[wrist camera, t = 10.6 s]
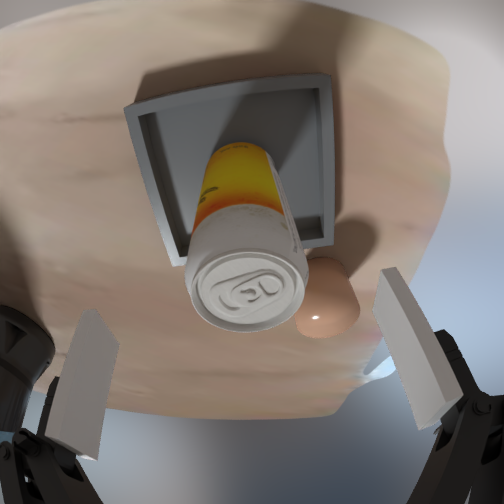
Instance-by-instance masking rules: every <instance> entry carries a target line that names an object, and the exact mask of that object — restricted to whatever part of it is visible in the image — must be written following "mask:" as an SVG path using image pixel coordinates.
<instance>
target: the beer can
mask: <svg viewBox="0 0 504 504" xmlns="http://www.w3.org/2000/svg"><path fill="white" fill-rule="evenodd" d="M308 277H309V269H308V263H307V260H306V257H305V253H304V250H303V247H302V244H301V241H300V238H299V235H298V231H297V228H296V225H295V222H294V219H293V216H292V213H291V210H290V207H289V204H288V201H287V198H286V195H285V192H284V189H283V186H282V184H281V181H280V178H279V175H278V172H277V169H276V166H275V164H274V161H273V159H272V158H271V156H270V155H269V154H268V153H267V152H266V151H265V150H264V149H262V148H261V147H259V146H257V145H254V144H251V143H246V142H236V143H231V144H228V145H226V146H223V147H222V148H220V149H219V150H217V151H216V152H215V153H214V154H213V155H212V156H211V158H210V159H209V161H208V163H207V166H206V170H205V174H204V178H203V183H202V187H201V192H200V197H199V201H198V206H197V211H196V215H195V220H194V225H193V230H192V235H191V241H190V246H189V251H188V256H187V262H186V267H185V284H186V287H187V290H188V292H189V294H190V296H191V300H192V303H193V306H194V308H195V310H196V311H197V312H198V314H199V315H200V316H201V317H202V318H203V319H205V320H206V321H207V322H209V323H210V324H212V325H214V326H216V327H219V328H221V329H225V330H228V331H234V332H257V331H262V330H266V329H270V328H273V327H275V326H277V325H279V324H281V323H283V322H285V321H286V320H288V319H289V318H290V317H291V316H292V315H294V314H295V312H296V311H297V310H298V309H299V307H300V306H301V304H302V301H303V299H304V294H305V288H306V285H307V282H308Z"/></svg>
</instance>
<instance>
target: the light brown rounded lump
mask: <svg viewBox="0 0 504 504" xmlns="http://www.w3.org/2000/svg"><path fill="white" fill-rule="evenodd" d="M307 263H308V269H309V277H308V282H307V285H306V288H305V294H304V299H303V301H302V304H301V306H300V307H299V309H298V310H297V311H296V312H295V314H294V316H295V321H296V326H297V329H298V330H299V331H300V332H301V333H302V334H303V335H305V336H308V337H311V338H328V337H332V336H335V335H338V334H340V333H342V332H344V331H346V330H347V329H349V328H350V327H351V326H352V325H353V324H354V323H355V322H356V321H357V319H358V317H359V315H360V306H359V303H358V301H357V298H356V296H355V293H354V291H353V288H352V286H351V283H350V281H349V278H348V276H347V274H346V271H345V269H344V267H343V265H342V264H341V263H340V262H339V261H337V260H335V259H332V258H328V257H317V258H313V259H310V260H307Z"/></svg>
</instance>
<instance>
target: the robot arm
mask: <svg viewBox="0 0 504 504" xmlns="http://www.w3.org/2000/svg"><path fill="white" fill-rule="evenodd" d="M372 312H373V314H374V316H375V318H376V321H377V323H378V325H379V328H380V330H381V332H382V335H383V337H384V339H385V342H386V344H387V346H388V349H389V351H390V354H391V356H392V359H393V361H394V364H395V366H396V369H397V371H398V374H399V376H400V379H401V382H402V384H403V387H404V390H405V393H406V395H407V398H408V401H409V403H410V406H411V409H412V412H413V415H414V418H415V421H416V424H417V427H418V430H421V429H424V428H426V427H429V426H431V425H433V424H435V423H436V422H437V421H438V420H439V419H440V420H441V423H442V425H440V426H439V427H438V428H437V429H436V431H435V432H434V434H437V433H438V435H437V438H436V441H435V443H434V446H433V448H432V451H431V453H430V455H429V458H428V460H427V462H426V465H425V467H424V469H423V472H422V474H421V476H420V478H419V480H418V482H417V484H416V486H415V488H414V490H413V492H412V494H411V496H410V498H409V500H408V502H407V503H406V504H464V503H465V501H466V499H467V496H468V494H469V491H470V489H471V493H470V498H469V502H468V504H504V395H498V396H489V395H488V394H486V393H485V392H482V391H480V389H479V388H478V386H477V384H476V382H475V380H474V378H473V376H472V374H471V372H470V370H469V367H468V366H467V364H466V361H465V359H464V358H463V357H462V354H461V352H460V350H459V349H458V346H457V344H456V342H455V340H454V338H453V337H452V336H451V335H450V334H449V333H448V332H446V331H445V330H444V329H443V330H440V331H437V332H433V330H432V329H431V327H430V325H429V323H428V321H427V319H426V317H425V316H424V314H423V312H422V310H421V308H420V307H419V305H418V303H417V301H416V300H415V298H414V296H413V294H412V293H411V291H410V289H409V288H408V286H407V284H406V283H405V281H404V279H403V278H402V276H401V274H400V273H399V271H398V270H397V268H396V267H393V268H387V269H382V270H381V272H380V278H379V283H378V288H377V292H376V297H375V302H374V306H373V310H372ZM119 345H120V344H119V342H118V341H117V340H116V338H115V337H114V335H113V334H112V332H111V331H110V330H109V328H108V327H107V325H106V324H105V322H104V321H103V319H102V318H101V316H100V315H99V313H98V312H97V310H96V309H91V310H83V313H82V315H81V318H80V320H79V323H78V326H77V328H76V331H75V334H74V336H73V339H72V342H71V345H70V348H69V351H68V353H67V356H66V359H65V362H64V366H63V369H62V372H61V375H60V377H56V376H55V378H54V379H53V381H52V382H51V384H50V386H49V389H48V392H47V397H46V399H45V405H44V406H43V411H42V414H41V418H40V422H39V426H38V431H37V434H36V435H35V434H33V433H32V432H30V431H29V430H27V429H26V428H21V427H22V423H23V419H24V416H25V412H26V408H27V405H28V402H29V398H30V395H31V391H32V389H33V386H34V384H35V382H36V381H37V380H38V379H39V377H40V376H41V375H42V374H43V373H44V371H45V370H46V369H47V367H49V366H50V364H51V362H52V360H53V357H54V355H55V348H54V345H53V343H52V341H51V340H50V338H49V337H48V336H47V334H46V333H45V332H44V331H43V330H42V329H41V328H40V327H39V326H38V325H37V324H35V323H34V322H33V321H32V320H30V319H29V318H28V317H26V316H25V315H23V314H21V313H20V312H18V311H16V310H14V309H11V308H9V307H5V306H0V481H1V487H2V493H3V498H4V503H5V504H103V502H102V501H101V499H100V498H99V496H98V494H97V493H96V491H95V489H94V488H93V486H92V484H91V483H90V481H89V479H88V477H87V476H86V474H85V472H84V470H83V468H82V467H81V465H80V463H79V462H78V460H77V459H76V454H77V455H78V456H80V457H82V458H84V459H89V460H95V461H97V460H98V452H99V445H100V439H101V432H102V425H103V420H104V414H105V409H106V404H107V398H108V393H109V388H110V384H111V379H112V374H113V370H114V365H115V361H116V357H117V353H118V349H119ZM25 476H26V477H28V482H26V481H25ZM471 486H472V487H471Z"/></svg>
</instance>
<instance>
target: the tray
mask: <svg viewBox="0 0 504 504" xmlns="http://www.w3.org/2000/svg"><path fill="white" fill-rule="evenodd" d="M123 109H124V113H125V116H126V120H127V124H128V128H129V132H130V135H131V139H132V143H133V146H134V150H135V153H136V157H137V160H138V164H139V167H140V170H141V174H142V177H143V180H144V184H145V187H146V190H147V193H148V196H149V199H150V202H151V206H152V209H153V212H154V215H155V218H156V221H157V223H158V226H159V229H160V232H161V235H162V238H163V241H164V244H165V246H166V249H167V252H168V255H169V257H170V260H171V263H172V265H173V266H181V265H186V262H187V256H188V251H189V246H190V241H191V235H192V230H193V225H194V220H195V215H196V211H197V206H198V201H199V197H200V192H201V187H202V183H203V178H204V174H205V170H206V166H207V163H208V161H209V159H210V158H211V156H212V155H213V154H214V153H215V152H216V151H217V150H219V149H220V148H222V147H223V146H226V145H228V144H231V143H236V142H246V143H251V144H254V145H257V146H259V147H261V148H262V149H264V150H265V151H266V152H267V153H268V154H269V155H270V156H271V158H272V159H273V161H274V164H275V166H276V169H277V172H278V175H279V178H280V181H281V184H282V186H283V189H284V192H285V195H286V198H287V201H288V204H289V207H290V210H291V213H292V216H293V219H294V222H295V225H296V228H297V231H298V235H299V238H300V241H301V244H302V247H303V249H308V248H315V247H323V246H330V245H334V218H335V151H334V121H333V102H332V87H331V75H328V74H324V73H309V74H291V75H278V76H268V77H259V78H250V79H243V80H235V81H229V82H222V83H217V84H211V85H205V86H200V87H195V88H190V89H185V90H181V91H176V92H172V93H168V94H164V95H160V96H156V97H152V98H148V99H145V100H141V101H138V102H134V103H132V104H130V105H128V106H126V107H124V108H123Z"/></svg>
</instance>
